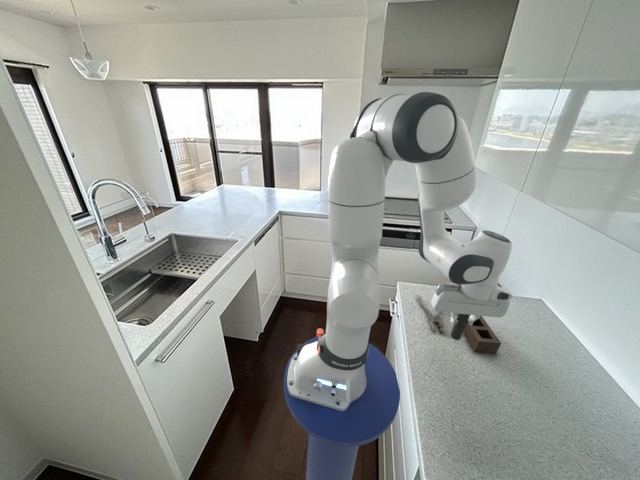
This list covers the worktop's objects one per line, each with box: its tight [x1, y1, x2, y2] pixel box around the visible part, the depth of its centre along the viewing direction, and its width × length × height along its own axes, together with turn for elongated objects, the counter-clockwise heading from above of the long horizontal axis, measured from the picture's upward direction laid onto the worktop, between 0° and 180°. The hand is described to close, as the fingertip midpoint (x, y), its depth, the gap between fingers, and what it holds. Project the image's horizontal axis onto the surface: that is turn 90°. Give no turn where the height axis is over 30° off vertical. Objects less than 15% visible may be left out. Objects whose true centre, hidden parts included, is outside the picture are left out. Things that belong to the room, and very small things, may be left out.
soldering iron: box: [449, 314, 470, 341], centre depth 77 cm, size 3×3×15 cm
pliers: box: [417, 295, 444, 334], centre depth 99 cm, size 10×1×20 cm
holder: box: [455, 314, 502, 355], centre depth 90 cm, size 7×18×5 cm, turn 176°
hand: (460, 322), depth 78 cm, fingers closed on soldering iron, 3 cm apart
